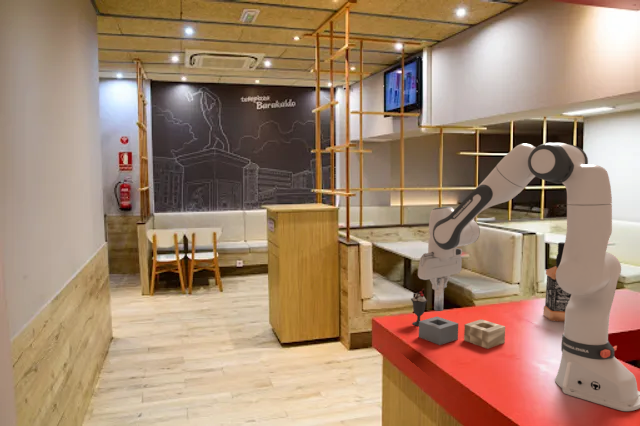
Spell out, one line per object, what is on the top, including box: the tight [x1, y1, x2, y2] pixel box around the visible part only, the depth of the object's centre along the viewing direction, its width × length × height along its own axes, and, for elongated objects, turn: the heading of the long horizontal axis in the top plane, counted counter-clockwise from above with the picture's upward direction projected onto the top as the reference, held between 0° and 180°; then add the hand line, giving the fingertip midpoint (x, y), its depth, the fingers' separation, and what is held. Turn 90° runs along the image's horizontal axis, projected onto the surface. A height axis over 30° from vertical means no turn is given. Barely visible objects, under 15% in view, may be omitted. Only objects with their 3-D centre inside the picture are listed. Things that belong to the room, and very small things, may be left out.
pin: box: [433, 277, 445, 312], centre depth 175 cm, size 3×3×12 cm
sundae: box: [410, 288, 429, 327], centre depth 192 cm, size 7×7×15 cm
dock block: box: [418, 316, 459, 346], centre depth 177 cm, size 10×10×6 cm
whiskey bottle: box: [542, 242, 571, 323], centre depth 199 cm, size 10×10×32 cm
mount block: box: [463, 319, 506, 350], centre depth 173 cm, size 10×10×6 cm
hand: (439, 288), depth 175 cm, fingers closed on pin, 3 cm apart
